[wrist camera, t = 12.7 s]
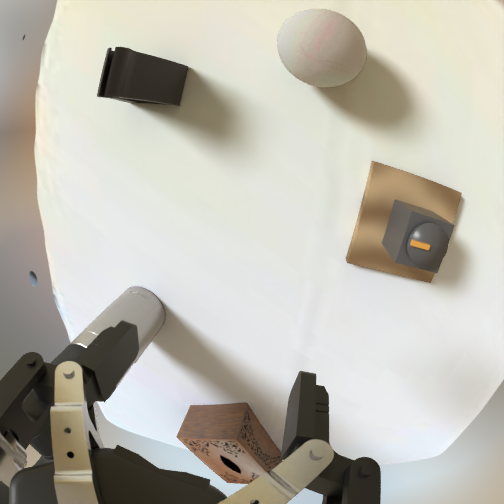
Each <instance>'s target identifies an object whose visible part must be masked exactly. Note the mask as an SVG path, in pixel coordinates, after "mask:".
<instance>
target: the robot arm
mask: <svg viewBox="0 0 504 504" xmlns="http://www.w3.org/2000/svg"><path fill="white" fill-rule="evenodd" d="M164 320H165V312H164V308H163V306H162V304H161V302H160V301H159V300H158V298H157V297H156V296H155V295H154V294H153V293H151V292H150V291H148V290H147V289H144V288H141V287H131V288H129V289H127V290H126V291H125V292H124V293H123V294H122V295H120V296H119V297H118V298H117V299H116V300H115V301H114V302H113V303H112V304H111V305H110V306H109V307H107V308H106V309H105V310H104V311H103V312H102V313H101V314H100V315H99V316H98V317H97V318H96V319H95V320H94V321H93V322H92V323H91V324H90V325H89V326H88V327H87V328H86V329H85V330H84V331H83V332H82V333H81V334H80V335H79V336H78V337H77V338H76V339H75V340H74V341H73V342H72V343H71V344H70V345H68V346H67V347H66V348H65V350H64V351H63V352H62V353H61V354H59V355H58V356H57V357H56V358H55V359H54V360H53V361H52V362H51V363H50V364H49V363H45V362H44V361H43V358H42V357H41V355H39V354H38V353H35V352H29V353H26V354H25V355H23V356H22V357H21V358H20V359H19V360H18V362H17V363H16V364H15V365H14V366H13V367H12V368H11V369H10V370H9V371H8V373H7V374H6V375H5V376H4V377H3V378H2V379H1V381H0V480H1V481H0V504H286V503H288V502H289V501H290V500H291V499H292V498H293V497H295V496H296V495H297V494H298V493H299V492H300V491H301V490H303V489H304V488H307V489H309V490H312V491H314V492H317V493H320V494H323V502H322V504H380V493H381V491H380V490H381V488H380V487H381V485H380V484H381V475H380V474H381V473H380V467H379V465H378V463H377V462H376V461H375V460H373V459H371V458H368V457H361V458H358V459H356V460H355V461H354V460H351V459H349V458H346V457H343V456H341V455H339V454H337V453H336V452H335V451H334V450H333V449H332V447H331V446H330V443H329V414H328V413H329V406H328V405H329V395H328V393H327V391H326V389H325V387H324V386H319V385H316V374H314V373H309V372H303V371H300V372H299V374H298V376H297V378H296V381H295V383H294V385H293V388H292V390H291V393H290V396H289V401H288V408H287V416H286V424H285V432H284V439H283V446H282V453H281V459H283V460H284V461H283V462H281V463H280V464H279V465H277V466H276V467H275V468H274V469H272V470H270V471H267V472H265V473H264V474H262V475H261V476H259V477H258V478H256V479H255V480H254V481H252V482H251V483H249V484H248V485H246V486H245V487H244V488H242V489H240V490H239V491H237V492H236V493H234V494H233V495H231V496H229V497H228V498H227V497H226V495H225V494H223V493H222V492H221V491H219V490H218V489H217V488H215V487H214V486H211V485H210V480H209V479H206V478H203V477H199V476H195V475H193V474H189V473H186V472H178V471H170V470H163V469H159V468H157V467H156V466H154V465H153V464H151V463H150V462H148V461H147V460H146V459H144V458H143V457H141V456H140V455H139V454H136V453H134V452H132V451H130V450H127V449H125V448H123V447H121V446H119V445H117V446H116V448H115V449H110V448H104V447H103V443H102V441H101V438H100V434H99V428H98V422H97V416H96V409H95V404H94V402H95V401H104V402H105V401H106V400H107V399H108V398H109V397H110V396H111V395H112V393H113V392H114V390H115V389H116V387H117V386H118V385H119V383H120V382H121V380H122V379H123V378H124V376H125V375H126V373H127V372H128V371H129V369H130V368H131V366H132V365H133V364H134V363H136V362H137V360H138V359H139V358H140V356H141V355H142V353H143V352H144V351H145V349H146V348H147V347H148V345H149V344H150V342H151V341H152V340H153V338H154V337H155V336H156V334H157V333H158V330H159V329H160V327H161V326H162V324H163V323H164ZM29 444H30V445H31V446H32V447H33V448H34V449H35V450H37V451H38V452H39V453H40V454H41V455H42V456H41V457H40V459H39V460H38V461H37V463H36V464H35V465H33V466H32V467H28V468H24V467H25V466H26V465H27V461H26V458H27V455H26V451H25V450H26V448H27V447H28V445H29Z"/></svg>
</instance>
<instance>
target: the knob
mask: <svg viewBox="0 0 504 504" xmlns="http://www.w3.org/2000/svg"><path fill="white" fill-rule="evenodd" d="M453 228H454V225H453V224H452V223H450V222H449V221H447V220H445V219H444V218H442V217H441V216H439V215H438V214H436V213H435V212H433V211H430V210H427V209H424V208H421V207H418V206H415V205H412V204H409V203H405V202H402V201H399V200H396V199H395V200H394V203H393V207H392V211H391V214H390V218H389V221H388V224H387V228H386V231H385V234H384V238H383V241H382V244H383V246H384V247H385V249H386V250H387V252H388V253H389V255H390V256H391V258H392V259H393V261H394V262H395V263H398V264H402V265H406V266H410V267H414V268H418V269H422V270H426V271H430V272H434V273H437V272H438V269H439V267H440V264H441V262H442V259H443V258H444V256H445V254H446V251H447V248H448V243H449V240H450V237H451V234H452V231H453Z"/></svg>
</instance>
